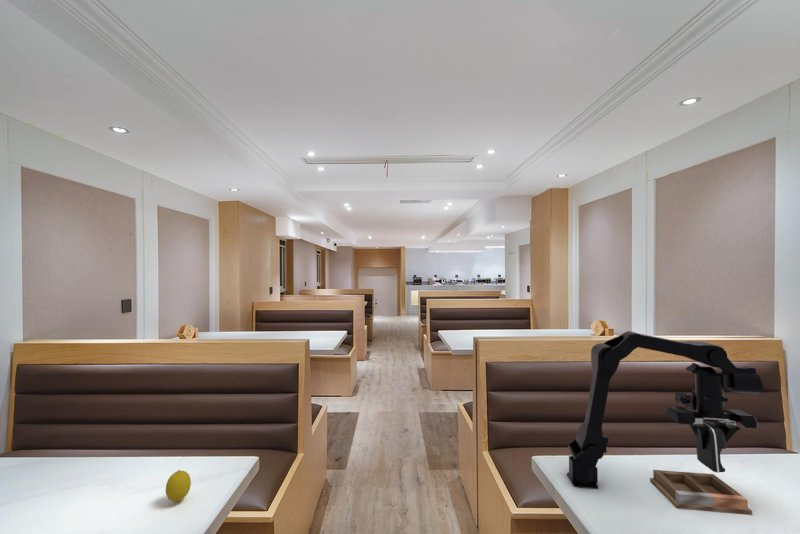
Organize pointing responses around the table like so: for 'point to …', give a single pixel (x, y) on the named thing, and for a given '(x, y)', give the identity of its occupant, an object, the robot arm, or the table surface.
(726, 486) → the dock
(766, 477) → the table surface
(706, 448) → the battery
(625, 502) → the table surface
